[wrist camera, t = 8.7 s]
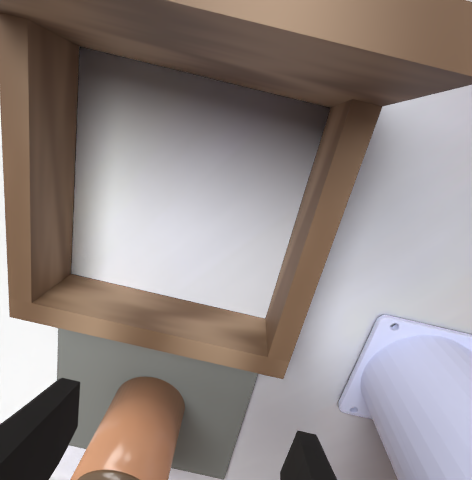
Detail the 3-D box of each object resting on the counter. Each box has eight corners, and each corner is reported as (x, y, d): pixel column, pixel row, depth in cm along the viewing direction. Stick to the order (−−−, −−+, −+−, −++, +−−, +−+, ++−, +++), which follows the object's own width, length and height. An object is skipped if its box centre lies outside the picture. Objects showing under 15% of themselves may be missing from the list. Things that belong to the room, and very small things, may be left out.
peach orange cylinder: (191, 386, 21) (168, 482, 15) (177, 436, 23) (152, 540, 17) (119, 369, 21) (68, 460, 15) (111, 421, 22) (62, 520, 17)
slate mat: (260, 364, 20) (260, 366, 20) (224, 476, 24) (223, 479, 24) (60, 318, 20) (58, 320, 20) (57, 439, 24) (55, 442, 24)
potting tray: (362, 87, 14) (519, 13, 6) (278, 338, 19) (296, 493, 11) (55, 11, 14) (-249, -181, 6) (52, 286, 19) (-110, 404, 11)
